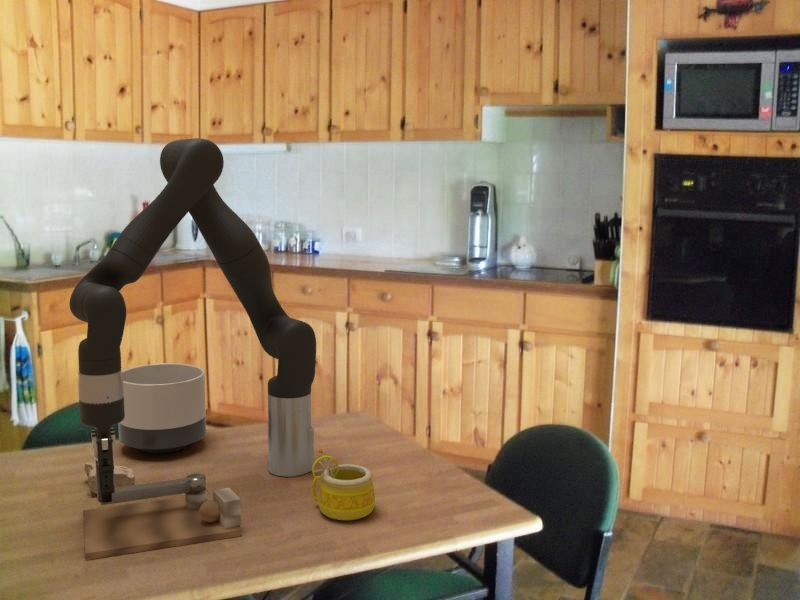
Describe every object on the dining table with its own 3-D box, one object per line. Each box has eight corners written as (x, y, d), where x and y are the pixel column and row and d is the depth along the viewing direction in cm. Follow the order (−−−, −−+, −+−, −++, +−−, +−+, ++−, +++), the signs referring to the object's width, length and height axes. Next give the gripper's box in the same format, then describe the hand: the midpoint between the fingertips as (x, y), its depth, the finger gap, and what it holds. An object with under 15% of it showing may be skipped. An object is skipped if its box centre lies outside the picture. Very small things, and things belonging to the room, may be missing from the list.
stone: (89, 500, 158) (88, 476, 157) (84, 479, 168) (83, 457, 168) (136, 493, 162) (135, 470, 161) (129, 473, 172) (128, 451, 171)
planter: (103, 459, 179) (100, 382, 176) (142, 431, 198) (140, 361, 195) (186, 465, 177) (184, 386, 174) (218, 436, 196) (216, 365, 193)
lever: (204, 484, 155) (203, 441, 154) (207, 491, 152) (206, 448, 151) (96, 499, 148) (94, 454, 146) (98, 507, 144) (96, 461, 143)
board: (224, 497, 161) (224, 467, 160) (243, 535, 144) (242, 502, 143) (83, 516, 151) (81, 484, 150) (85, 560, 134) (83, 525, 133)
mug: (383, 505, 158) (384, 446, 156) (362, 528, 148) (363, 465, 146) (323, 495, 162) (323, 438, 160) (299, 517, 152) (299, 456, 150)
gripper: (126, 404, 138) (130, 494, 141) (121, 383, 151) (124, 466, 154) (79, 409, 136) (84, 500, 138) (78, 387, 149) (82, 471, 151)
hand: (105, 482), depth 146 cm, fingers open, 8 cm apart
